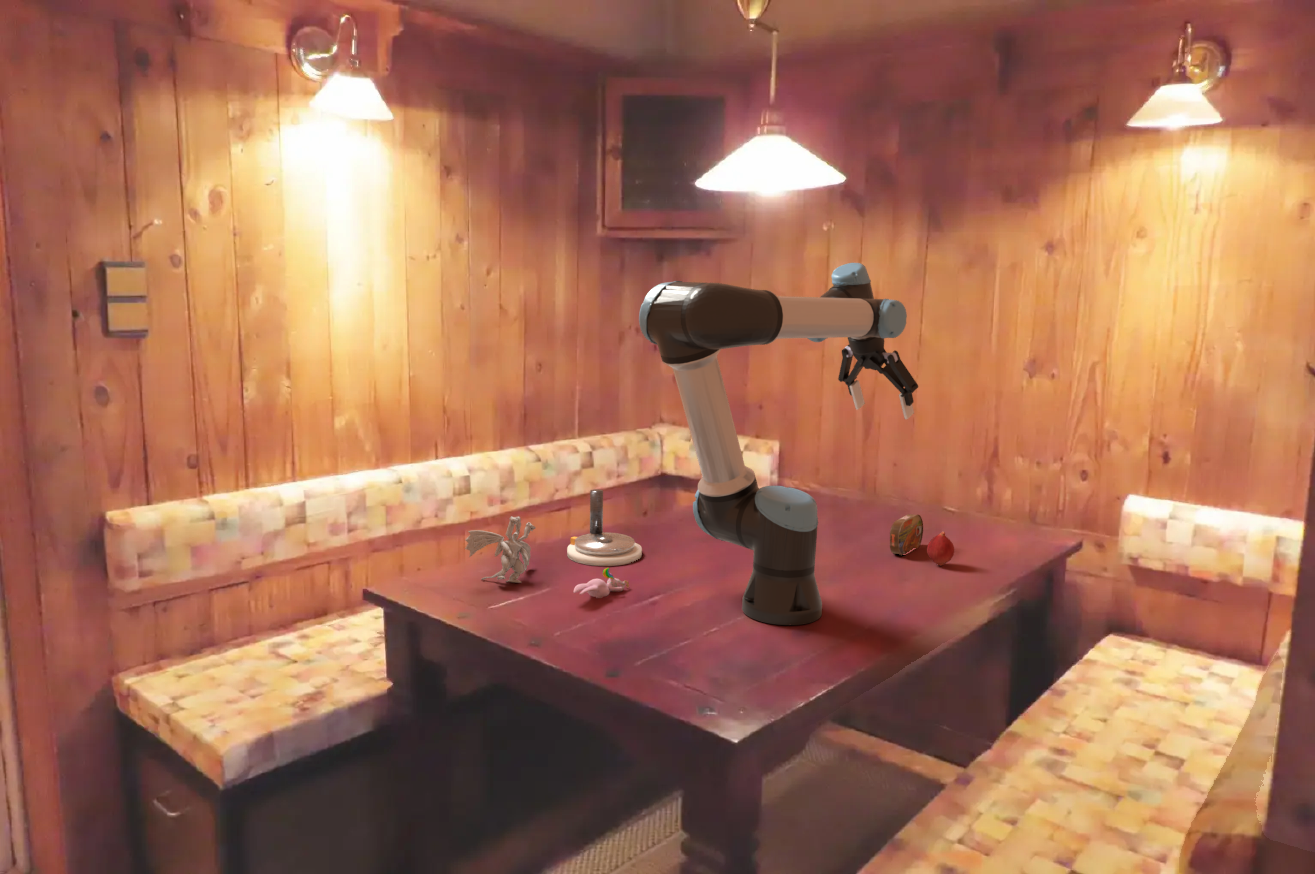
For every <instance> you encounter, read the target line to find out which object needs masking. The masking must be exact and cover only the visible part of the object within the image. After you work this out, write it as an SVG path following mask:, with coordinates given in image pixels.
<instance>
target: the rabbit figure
mask: <svg viewBox="0 0 1315 874" xmlns="http://www.w3.org/2000/svg"><path fill="white" fill-rule="evenodd" d="M602 576H603V578H605V579H607V581H606V582H605V580H604V579H601V578H593V579H591V580H589V581H587V583H578V584H577V585H575V587H574V588H573V592H572V593H573V594H576V593H578V592H579V596H580V595H584V594H585V593H587V594H588V595H589V596H590V597H594V598H595V599H602V598H604V597H608V596H609V594H610V592H614V593H615V592H622V591H624V589H625V587H626V588H627V589H628V588H630V585H629V581H630V580H629V579H627V580H626V579H625V580H624V581H622V580H620V577H618V578H617V577H614V575H613V574H612V573H611V572H610V567H606V568H604V569H603V571H602Z"/></svg>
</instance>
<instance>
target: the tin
mask: <svg viewBox="0 0 1315 874" xmlns="http://www.w3.org/2000/svg"><path fill="white" fill-rule="evenodd" d="M923 522H924V521H923V518H922V516H921V515H920V514H914V513H913V514H911V513H910V514H909V513H908V514H905V515H904V516H902V517H900V518H899V519H896V520H894V522H892V525H891V527H890V530H889V531H890V532H889V549H890V551H891V553H892V554H893V555H895V554H899V555H898V556H902V555H903V554H906V553H907V552H909V551H910V550H912V549H913V548H917V549H919V548H920V546H921V543H922V540H923V537H924V523H923Z"/></svg>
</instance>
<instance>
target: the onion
mask: <svg viewBox="0 0 1315 874" xmlns="http://www.w3.org/2000/svg"><path fill="white" fill-rule="evenodd" d="M926 553H927V556H928V557H929V558H930V560H931V561H932V562H934V563H935V564H936V565H937V564H938V565H942V566H944V565H945V564H947V563H948V562H949V561H950V560H952V559H953V557H954V556H955V546H954V543H953V542H952V541H951V539H950V538H949V537H948V536H947V535H946V532H945V531H941V532H940V533H939V534H937V535H936V536H934V537H932V539H931V540H930V541H929V542H928V544H927V548H926ZM938 565H937V566H938Z"/></svg>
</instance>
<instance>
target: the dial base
mask: <svg viewBox="0 0 1315 874" xmlns="http://www.w3.org/2000/svg"><path fill="white" fill-rule="evenodd" d="M577 537H578V536H572V537H570V540H569V541H570V542H569V544H568V546H567V547H566V551H567V552H566V553H567V554H566V555H567V558H568V559H569V560H571V561H572V562H575V563H578V564H581V565H587V566H592V567H593V566H595V567H596V566H597V567H598V566H599V567H613V566H615V567H616V566H622V565H627V564H632V563H635V562H636V560H637V561H638V559H639V560H640V559H641V558H642V555H643V554H642V552H643V548H642V545H640V544H639V543H636V542H635V546H634V550H632V551H631V552H629V553H625V554H621V555H613V556H597V555H589V554H584V553H581V552H579V551H577V550H576V549H575V539H576V538H577ZM634 561H635V562H634ZM631 562H632V563H631Z"/></svg>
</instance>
